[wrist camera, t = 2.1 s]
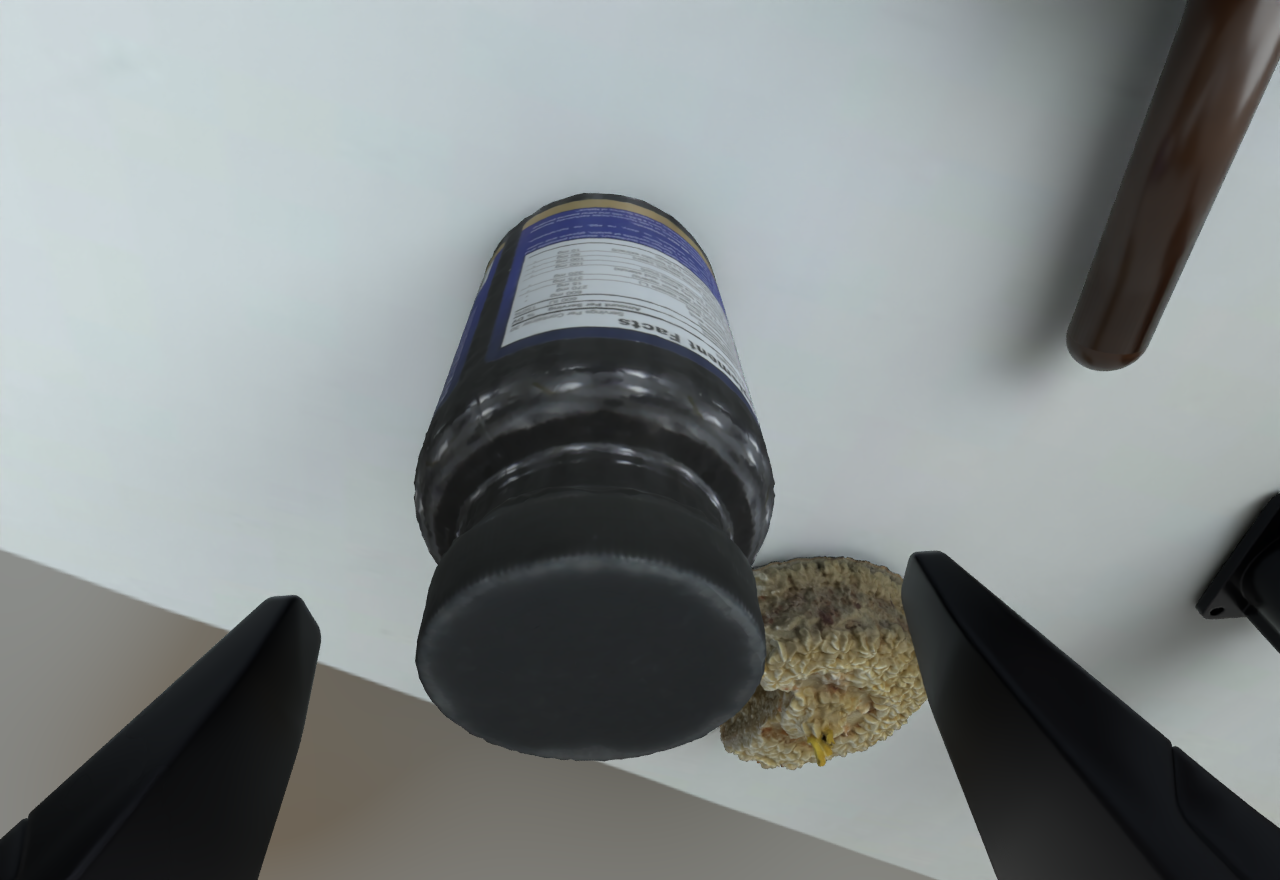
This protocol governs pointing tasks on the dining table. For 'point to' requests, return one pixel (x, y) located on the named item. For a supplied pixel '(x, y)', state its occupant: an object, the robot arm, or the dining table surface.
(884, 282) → the dining table surface
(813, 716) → the cake
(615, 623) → the pill bottle
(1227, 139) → the scoop
